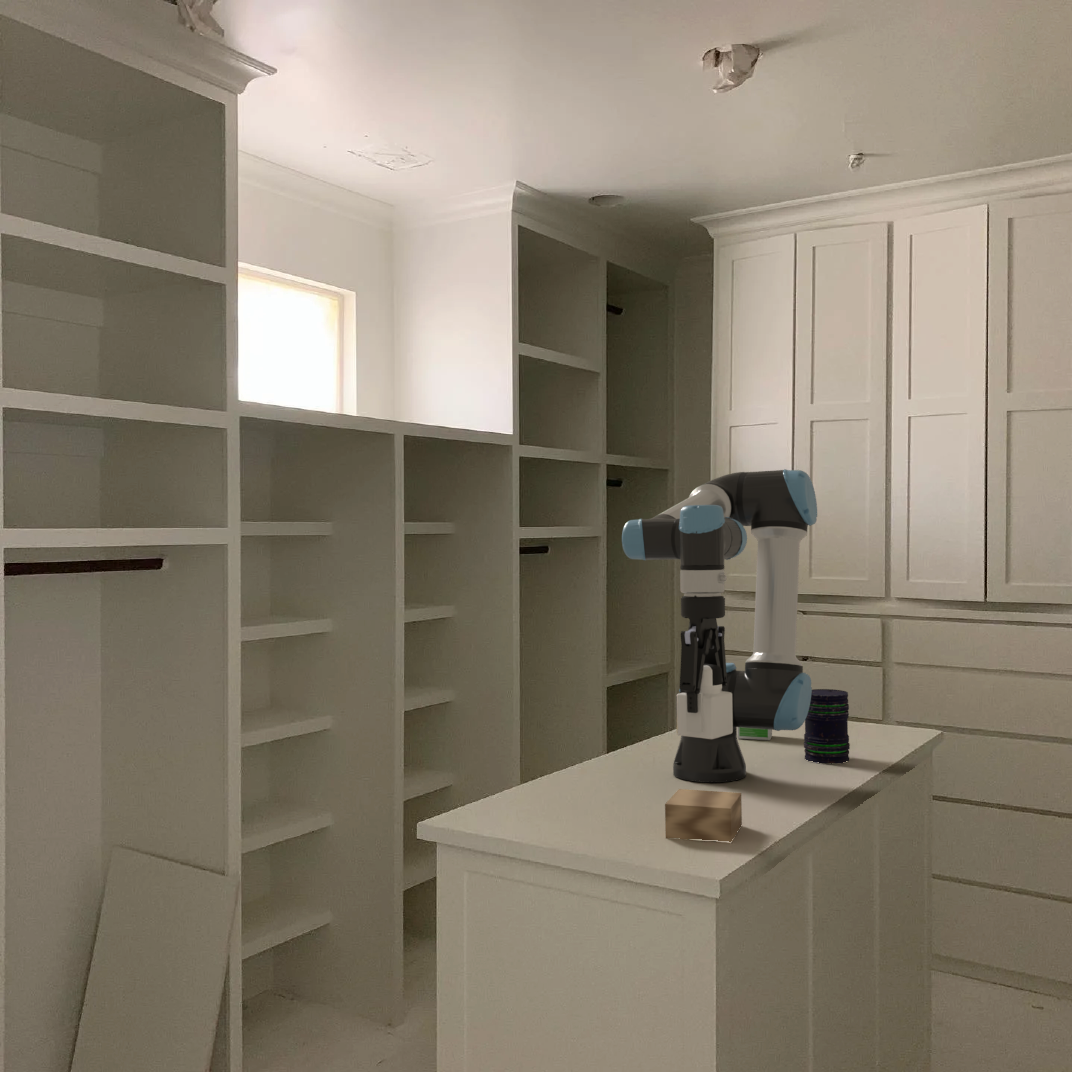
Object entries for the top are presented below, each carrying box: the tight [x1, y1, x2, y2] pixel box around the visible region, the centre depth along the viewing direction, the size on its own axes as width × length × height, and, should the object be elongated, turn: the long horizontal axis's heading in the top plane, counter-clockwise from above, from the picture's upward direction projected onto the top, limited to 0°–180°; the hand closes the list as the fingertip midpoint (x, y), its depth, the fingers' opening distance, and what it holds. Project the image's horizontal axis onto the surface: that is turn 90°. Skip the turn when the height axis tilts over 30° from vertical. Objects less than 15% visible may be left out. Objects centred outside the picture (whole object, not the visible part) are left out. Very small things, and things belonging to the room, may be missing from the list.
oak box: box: [664, 788, 743, 842], centre depth 183 cm, size 11×11×6 cm
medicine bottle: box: [675, 664, 733, 739], centre depth 184 cm, size 7×7×12 cm
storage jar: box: [803, 688, 851, 765], centre depth 239 cm, size 10×10×15 cm
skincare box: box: [737, 727, 773, 741], centre depth 265 cm, size 8×7×16 cm
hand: (704, 727), depth 184 cm, fingers closed on medicine bottle, 7 cm apart
